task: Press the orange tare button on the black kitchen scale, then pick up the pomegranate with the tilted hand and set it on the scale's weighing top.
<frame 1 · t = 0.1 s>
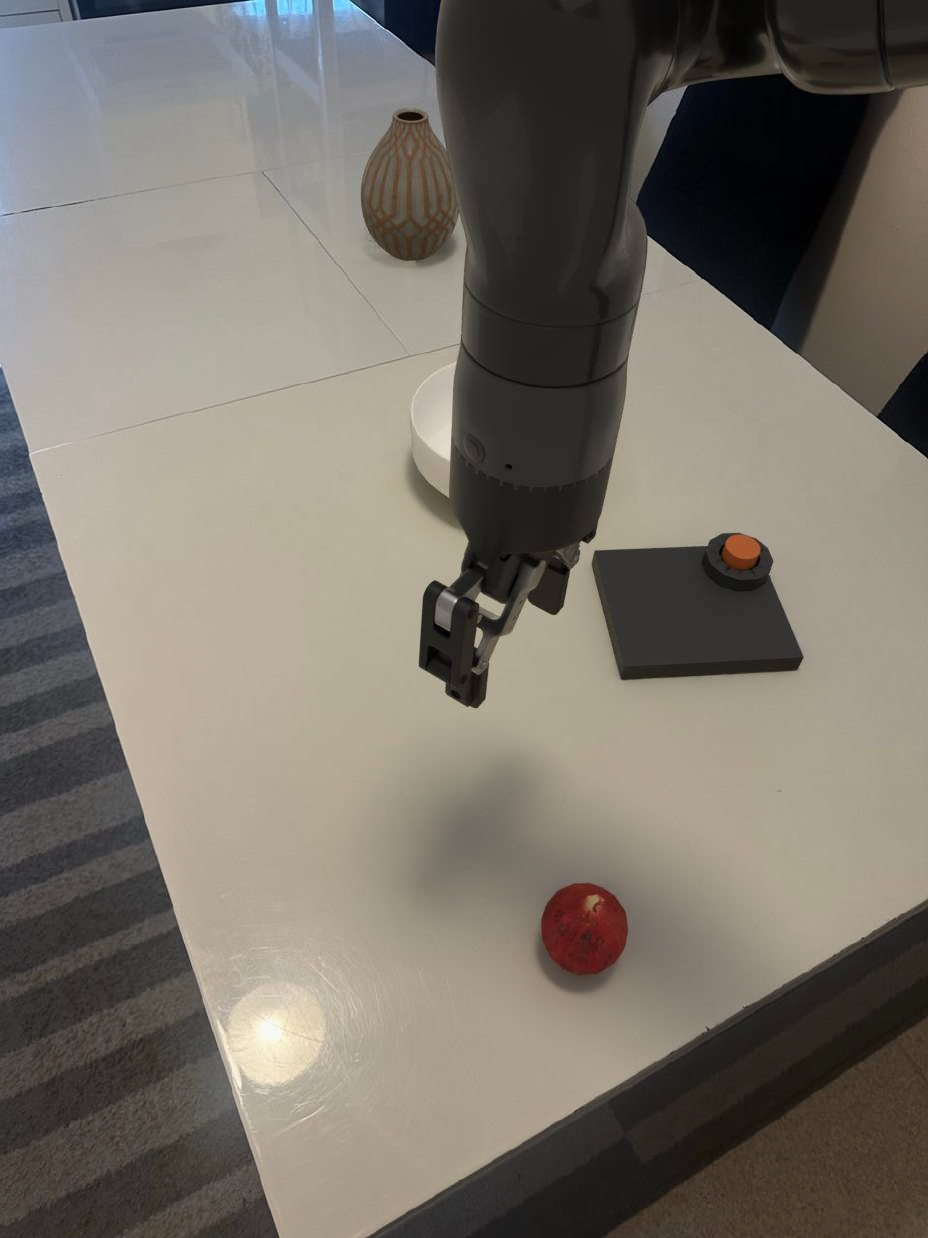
hand: (506, 649, 54), 22 cm above the table, tool pointing down, fingers open, 8 cm apart
pomegranate: (576, 949, 65), on the table
tare button: (740, 552, 85), point 4 cm above the table, slide at 0.1 cm
scale: (689, 614, 85), on the table
vase: (410, 250, 127), on the table
bowl: (503, 478, 97), on the table
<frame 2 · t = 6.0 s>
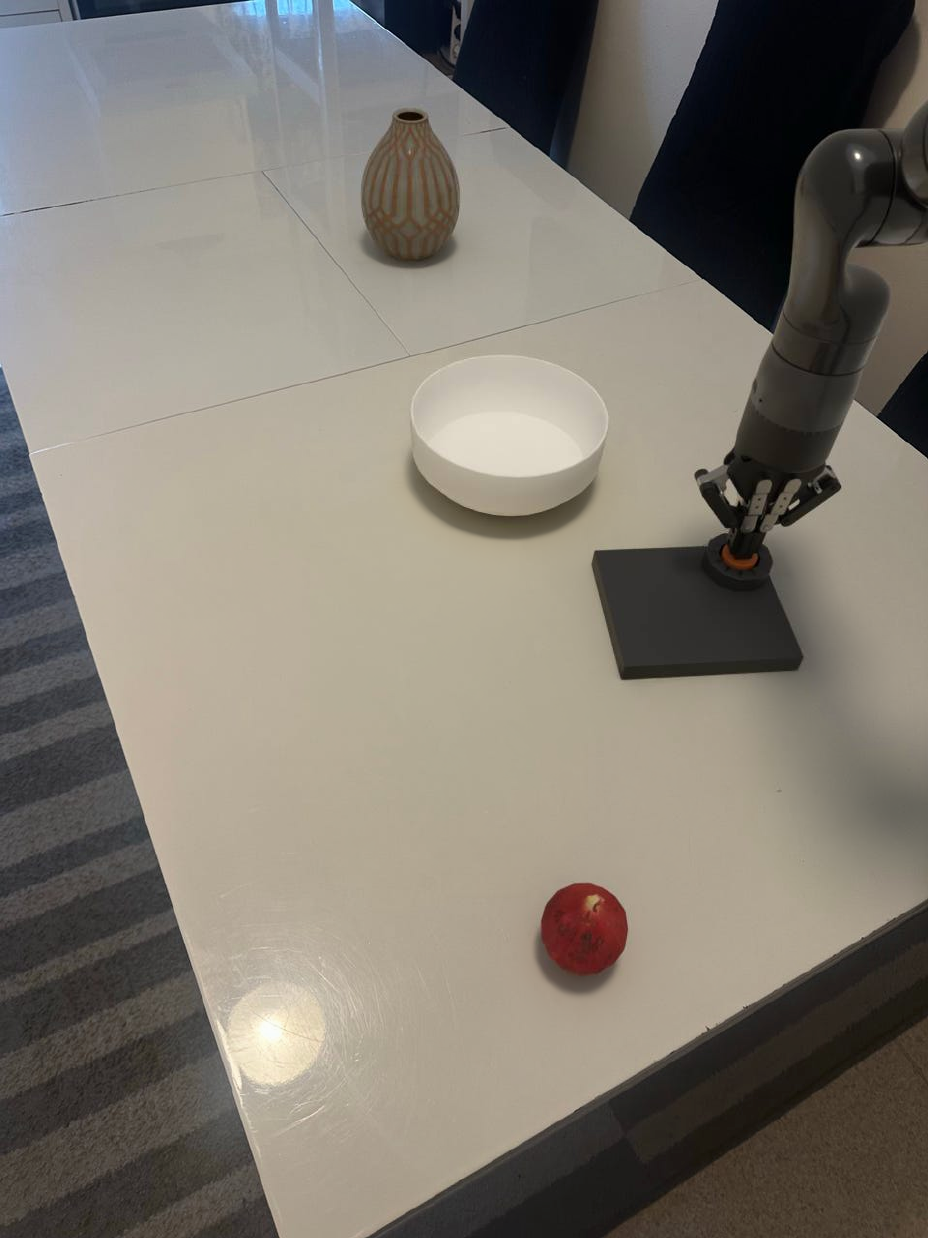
hand: (739, 552, 85), 4 cm above the table, tool pointing down, fingers closed
tare button: (738, 559, 86), point 3 cm above the table, slide at -0.8 cm, touching gripper
everything else where it was.
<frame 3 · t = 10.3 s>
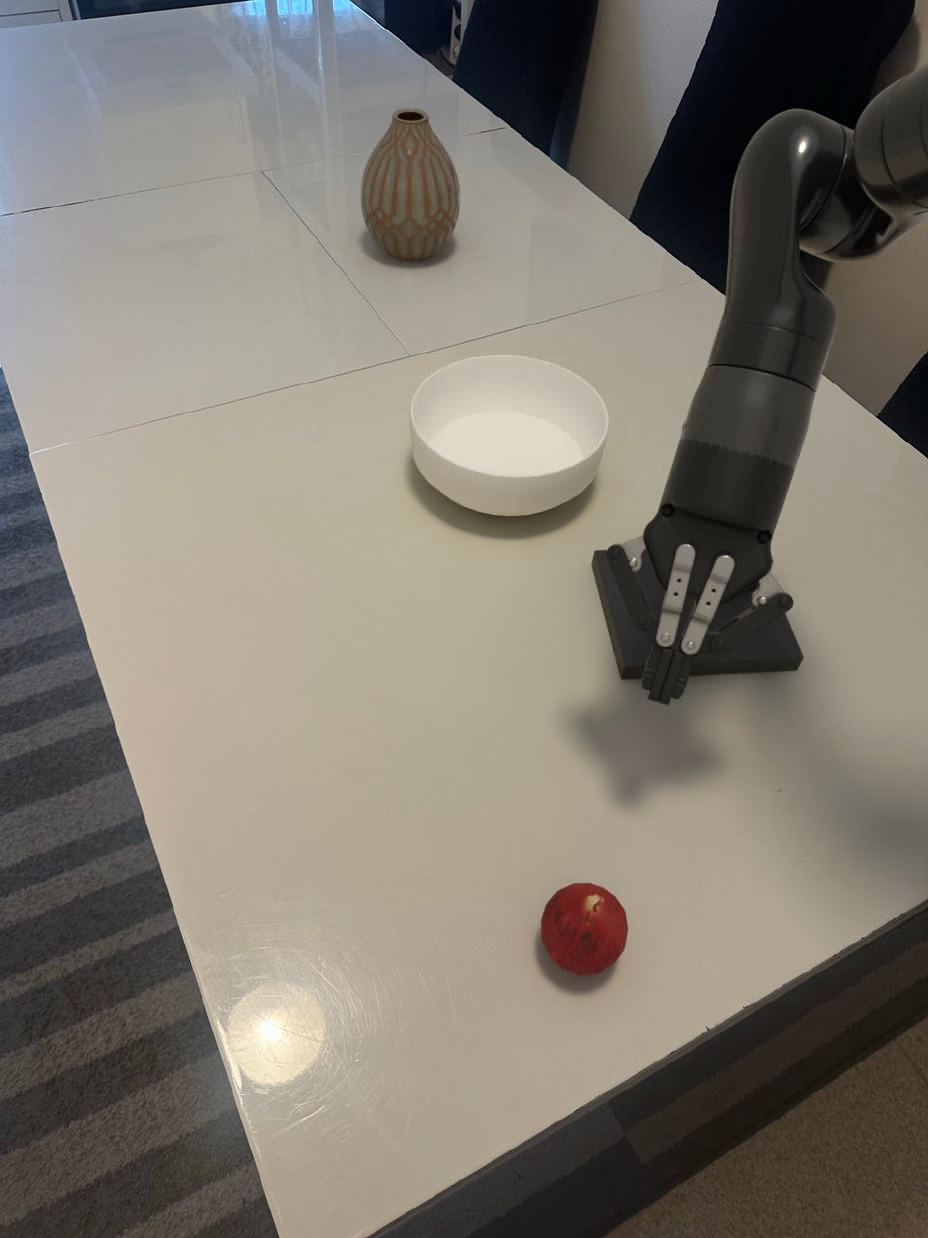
hand: (658, 700, 62), 13 cm above the table, tool tilted 40°, fingers closed
tare button: (740, 552, 85), point 4 cm above the table, slide at 0.1 cm
everything else where it was.
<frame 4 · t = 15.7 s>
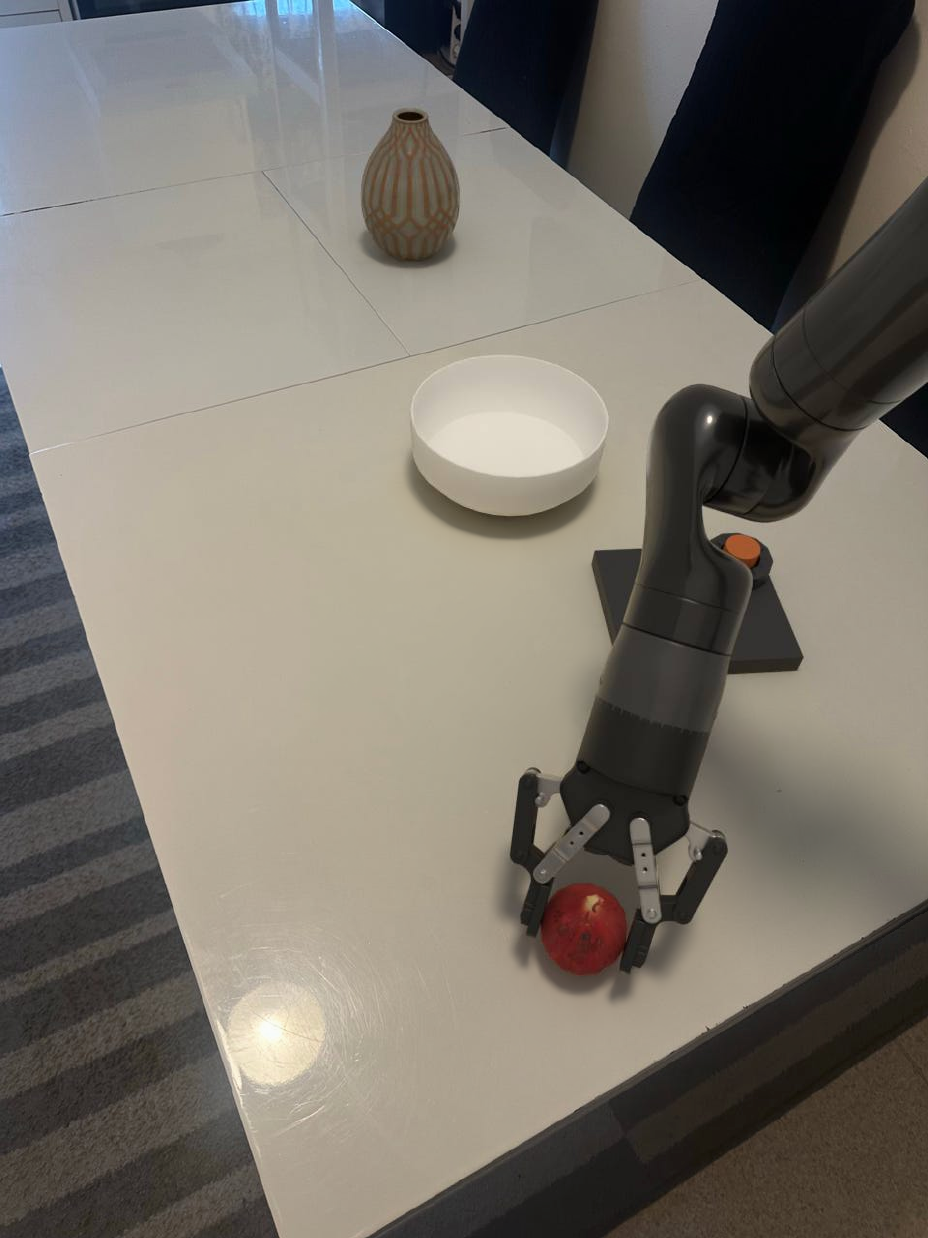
hand: (578, 949, 60), 4 cm above the table, tool tilted 45°, fingers closed on pomegranate, 5 cm apart
pomegranate: (576, 949, 65), on the table, touching gripper
everything else where it was.
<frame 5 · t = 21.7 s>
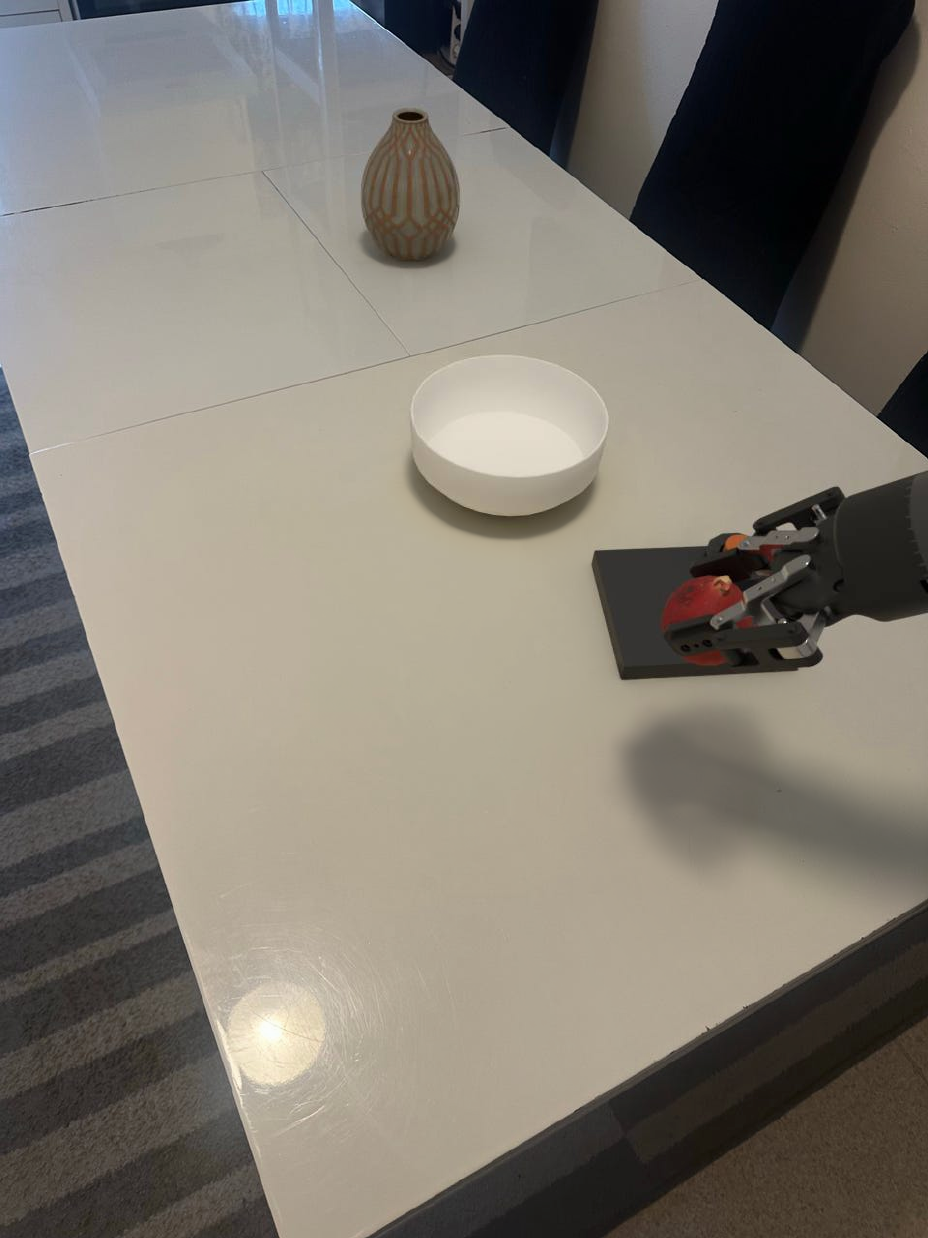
hand: (685, 608, 61), 18 cm above the table, tool tilted 45°, fingers closed on pomegranate, 5 cm apart
pomegranate: (693, 657, 64), point 14 cm above the table, touching gripper
everything else where it was.
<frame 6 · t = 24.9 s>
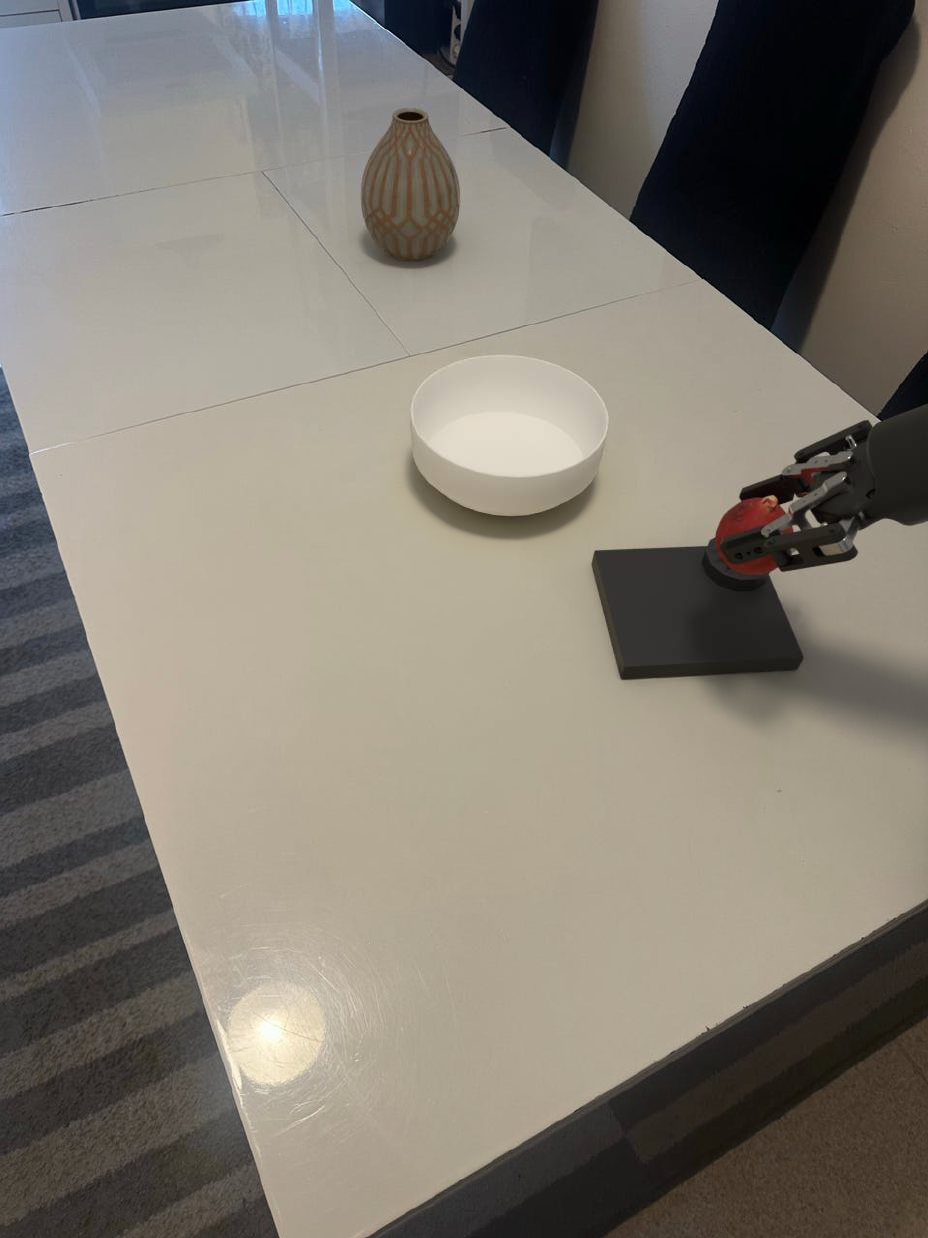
hand: (736, 526, 72), 14 cm above the table, tool tilted 45°, fingers closed on pomegranate, 5 cm apart
pomegranate: (741, 571, 75), point 10 cm above the table, touching gripper
everything else where it was.
when the fingers open (6 cm above the table, at t = 27.8 s): pomegranate stays where it is, resting on scale.
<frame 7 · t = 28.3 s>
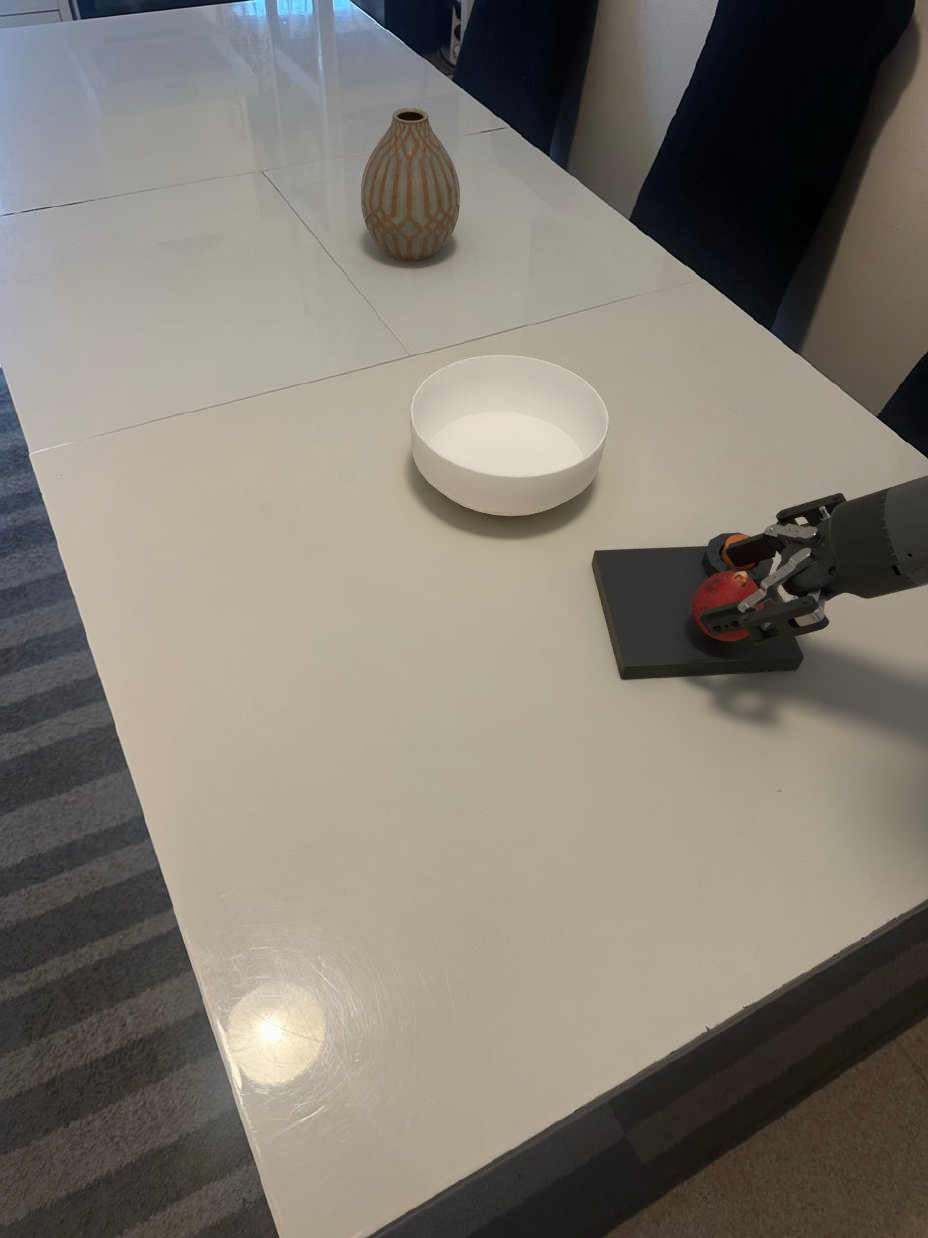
hand: (718, 589, 78), 7 cm above the table, tool tilted 45°, fingers open, 8 cm apart
pomegranate: (716, 635, 81), point 2 cm above the table, touching scale
everything else where it was.
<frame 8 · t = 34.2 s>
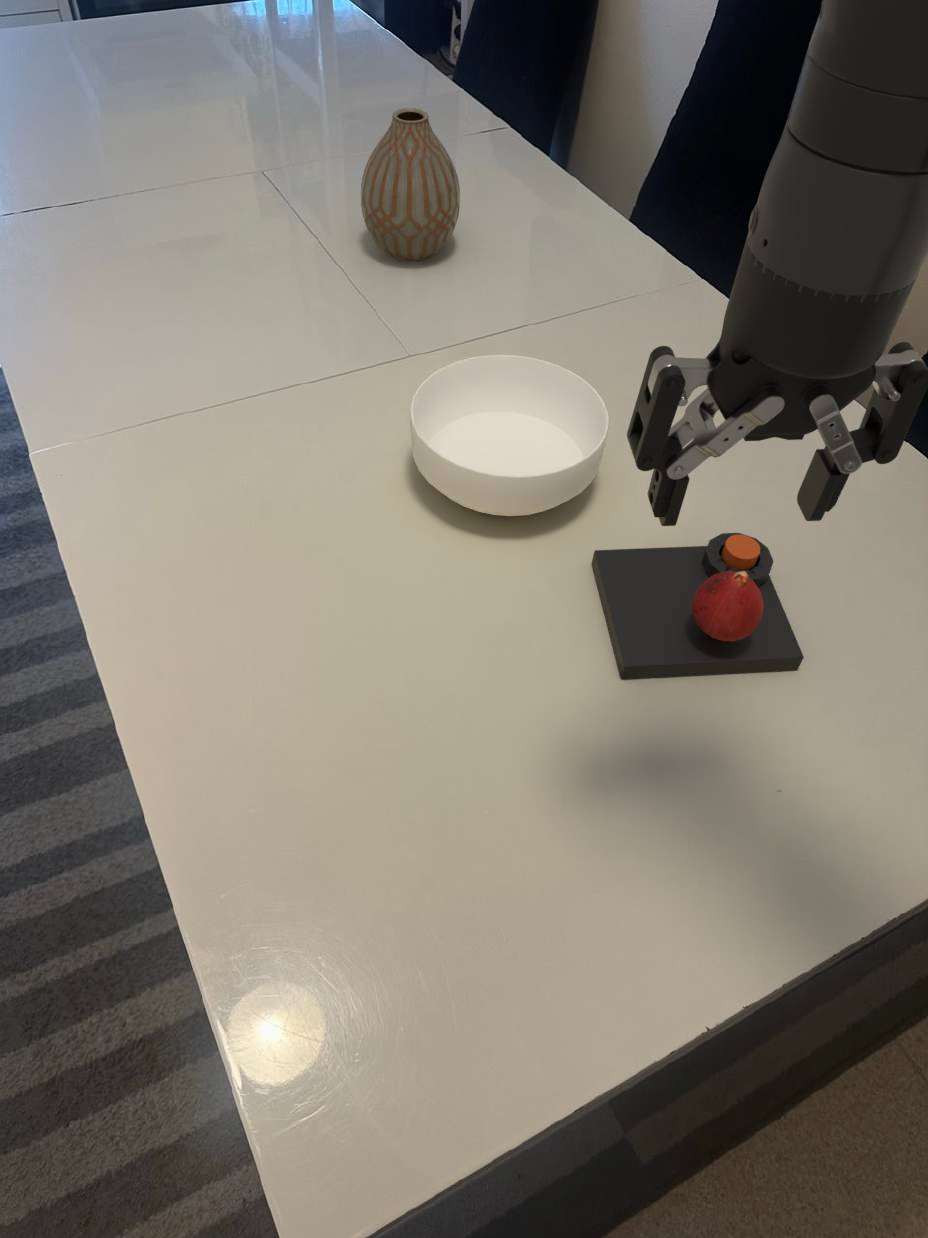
hand: (736, 513, 53), 28 cm above the table, tool pointing down, fingers open, 8 cm apart
nothing on the table moved.
at the end: tare button pushed in 0.9 cm at the most during the clip, back to where it started at the end; pomegranate inside the target area on the scale (4.1 cm from its centre), point 1.7 cm above the scale's base; pomegranate touching scale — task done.
